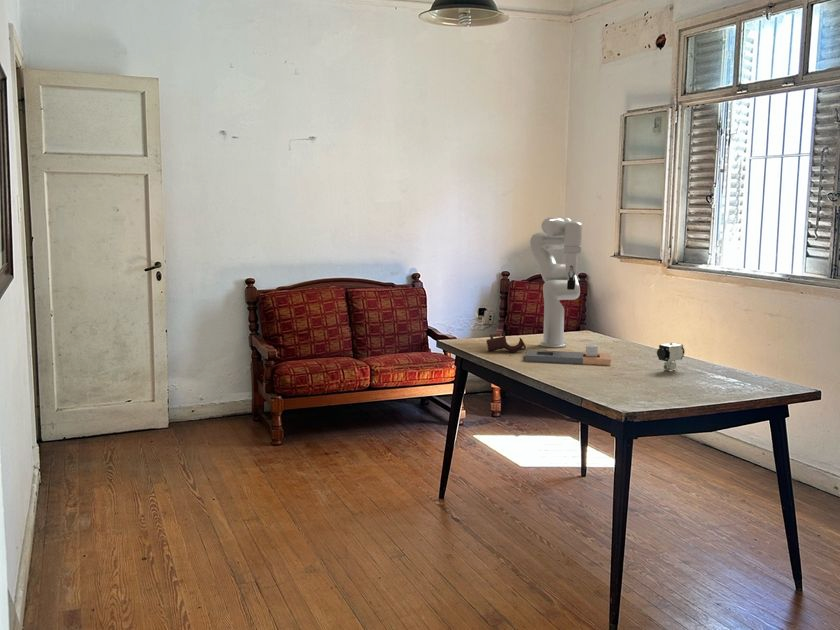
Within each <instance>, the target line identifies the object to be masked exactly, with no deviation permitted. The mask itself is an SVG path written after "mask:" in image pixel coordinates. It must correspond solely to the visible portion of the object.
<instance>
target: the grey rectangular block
mask: <svg viewBox="0 0 840 630" xmlns="http://www.w3.org/2000/svg"><path fill="white" fill-rule="evenodd" d="M598 348H599V346H598V344H585V352H586V357H597V354H598V353H599V352H598V351H599V349H598Z"/></svg>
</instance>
